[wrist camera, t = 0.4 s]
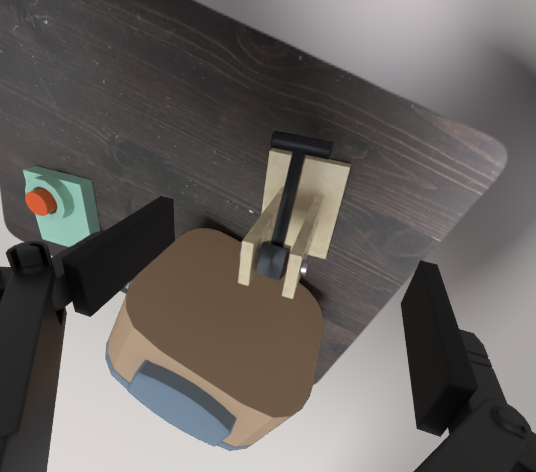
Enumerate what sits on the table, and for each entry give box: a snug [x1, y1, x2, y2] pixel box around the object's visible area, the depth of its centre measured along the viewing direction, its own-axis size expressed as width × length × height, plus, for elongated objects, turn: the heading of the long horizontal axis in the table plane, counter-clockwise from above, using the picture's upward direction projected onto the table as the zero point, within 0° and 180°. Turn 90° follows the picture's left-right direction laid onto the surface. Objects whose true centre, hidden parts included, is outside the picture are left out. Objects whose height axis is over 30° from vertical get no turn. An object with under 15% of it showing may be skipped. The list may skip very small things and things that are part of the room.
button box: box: [23, 166, 100, 247], centre depth 48 cm, size 12×10×4 cm
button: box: [25, 188, 57, 216], centre depth 44 cm, size 4×4×2 cm
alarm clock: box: [105, 228, 323, 451], centre depth 36 cm, size 21×10×22 cm, turn 60°
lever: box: [255, 131, 333, 280], centre depth 27 cm, size 12×5×2 cm, turn 172°
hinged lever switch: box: [238, 148, 351, 299], centre depth 32 cm, size 12×9×15 cm
